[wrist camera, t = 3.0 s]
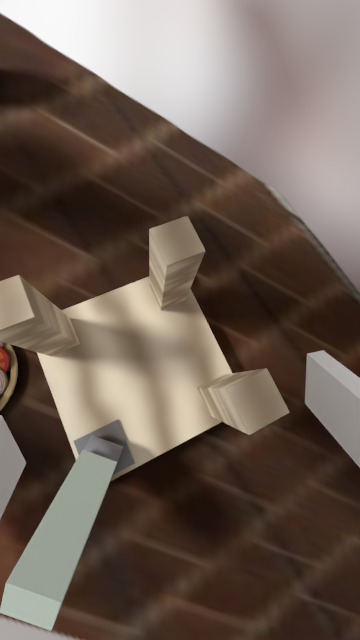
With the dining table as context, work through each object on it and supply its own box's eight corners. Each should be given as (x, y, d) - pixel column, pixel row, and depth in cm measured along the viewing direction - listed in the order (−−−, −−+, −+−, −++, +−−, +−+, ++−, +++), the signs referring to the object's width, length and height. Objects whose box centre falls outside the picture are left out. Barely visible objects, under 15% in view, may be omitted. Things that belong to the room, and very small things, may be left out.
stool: (93, 484, 31) (38, 578, 16) (35, 328, 34) (-55, 283, 19) (242, 405, 35) (312, 420, 20) (177, 272, 38) (194, 199, 23)
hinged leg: (117, 461, 30) (51, 630, 17) (88, 450, 30) (-1, 612, 17) (126, 438, 28) (61, 602, 16) (95, 427, 28) (5, 582, 16)
